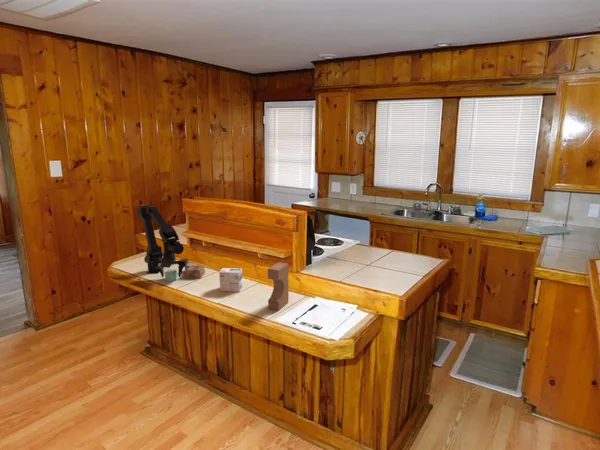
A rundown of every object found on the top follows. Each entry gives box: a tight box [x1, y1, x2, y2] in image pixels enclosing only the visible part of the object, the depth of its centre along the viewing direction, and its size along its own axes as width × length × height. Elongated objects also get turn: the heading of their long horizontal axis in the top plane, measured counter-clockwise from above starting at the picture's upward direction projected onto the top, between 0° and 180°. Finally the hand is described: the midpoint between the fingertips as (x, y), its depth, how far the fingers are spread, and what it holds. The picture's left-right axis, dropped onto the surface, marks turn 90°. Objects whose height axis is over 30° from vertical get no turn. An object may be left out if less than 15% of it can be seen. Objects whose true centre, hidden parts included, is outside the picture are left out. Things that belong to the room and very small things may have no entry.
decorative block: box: [267, 261, 289, 312], centre depth 189 cm, size 11×6×20 cm, turn 154°
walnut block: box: [185, 264, 206, 279], centre depth 228 cm, size 8×8×5 cm
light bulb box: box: [218, 267, 244, 293], centre depth 209 cm, size 11×7×11 cm, turn 84°
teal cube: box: [164, 268, 178, 282], centre depth 223 cm, size 5×5×5 cm
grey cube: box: [184, 262, 195, 274], centre depth 235 cm, size 4×4×4 cm
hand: (171, 277), depth 223 cm, fingers open, 9 cm apart
